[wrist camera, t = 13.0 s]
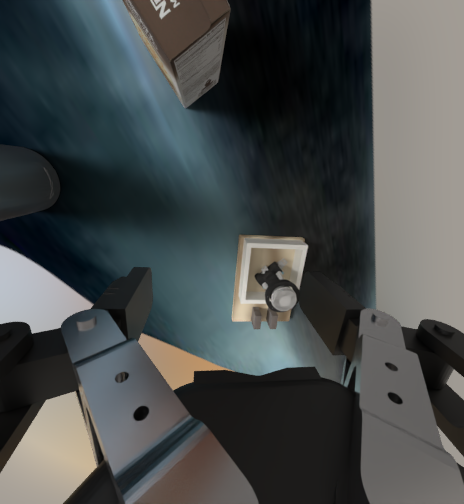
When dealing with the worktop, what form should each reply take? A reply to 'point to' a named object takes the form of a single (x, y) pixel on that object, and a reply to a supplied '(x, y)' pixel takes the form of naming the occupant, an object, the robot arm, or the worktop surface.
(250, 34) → the worktop surface
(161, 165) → the worktop surface
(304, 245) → the white open box
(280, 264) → the push button
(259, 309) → the board
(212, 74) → the coffee box
